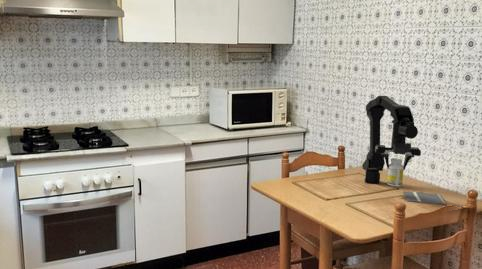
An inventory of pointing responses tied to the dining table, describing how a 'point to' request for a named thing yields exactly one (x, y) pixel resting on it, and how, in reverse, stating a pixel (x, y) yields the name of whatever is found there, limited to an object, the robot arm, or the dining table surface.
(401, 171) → the pill bottle
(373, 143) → the robot arm
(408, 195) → the mat
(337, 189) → the dining table surface
